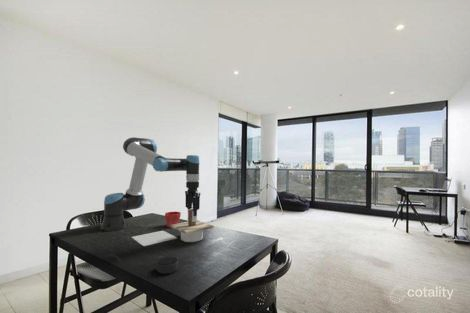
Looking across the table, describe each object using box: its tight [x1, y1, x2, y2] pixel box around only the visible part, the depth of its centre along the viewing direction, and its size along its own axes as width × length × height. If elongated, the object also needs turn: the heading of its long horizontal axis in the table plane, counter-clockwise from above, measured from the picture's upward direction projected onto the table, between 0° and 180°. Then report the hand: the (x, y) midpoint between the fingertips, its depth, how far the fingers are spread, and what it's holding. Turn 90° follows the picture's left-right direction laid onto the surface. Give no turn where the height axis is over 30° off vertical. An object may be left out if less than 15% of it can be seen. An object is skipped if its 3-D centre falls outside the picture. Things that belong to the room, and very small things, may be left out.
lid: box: [171, 208, 214, 234], centre depth 134 cm, size 18×18×10 cm
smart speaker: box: [156, 256, 179, 275], centre depth 96 cm, size 9×9×4 cm
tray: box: [131, 230, 178, 247], centre depth 135 cm, size 20×20×1 cm
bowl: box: [180, 230, 204, 243], centre depth 134 cm, size 12×12×7 cm
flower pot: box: [164, 211, 182, 229], centre depth 160 cm, size 11×11×10 cm
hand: (192, 220), depth 134 cm, fingers open, 4 cm apart
